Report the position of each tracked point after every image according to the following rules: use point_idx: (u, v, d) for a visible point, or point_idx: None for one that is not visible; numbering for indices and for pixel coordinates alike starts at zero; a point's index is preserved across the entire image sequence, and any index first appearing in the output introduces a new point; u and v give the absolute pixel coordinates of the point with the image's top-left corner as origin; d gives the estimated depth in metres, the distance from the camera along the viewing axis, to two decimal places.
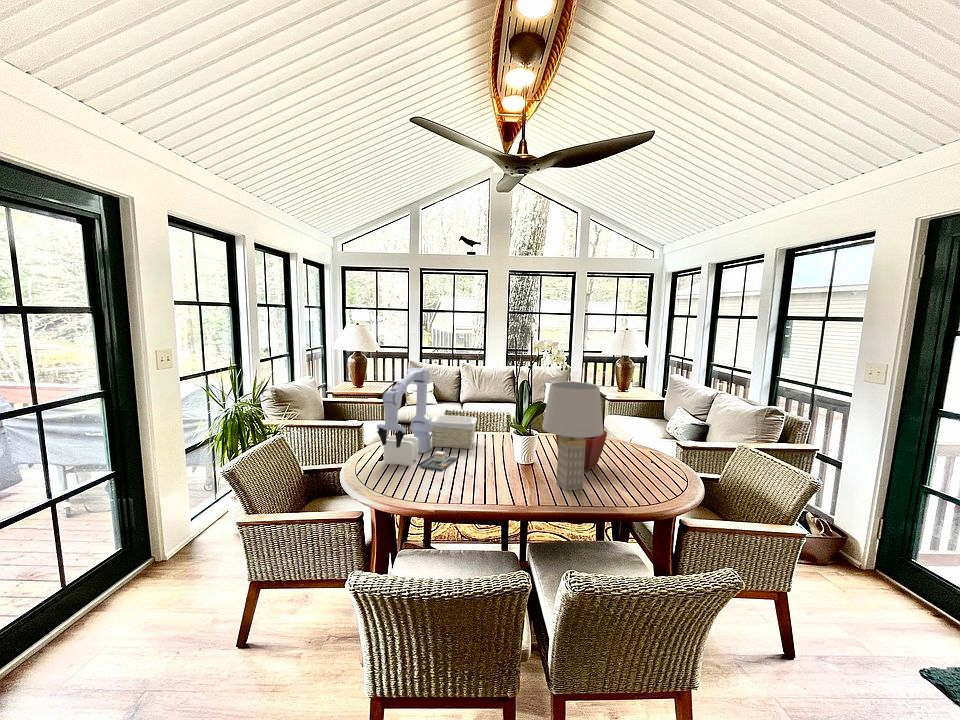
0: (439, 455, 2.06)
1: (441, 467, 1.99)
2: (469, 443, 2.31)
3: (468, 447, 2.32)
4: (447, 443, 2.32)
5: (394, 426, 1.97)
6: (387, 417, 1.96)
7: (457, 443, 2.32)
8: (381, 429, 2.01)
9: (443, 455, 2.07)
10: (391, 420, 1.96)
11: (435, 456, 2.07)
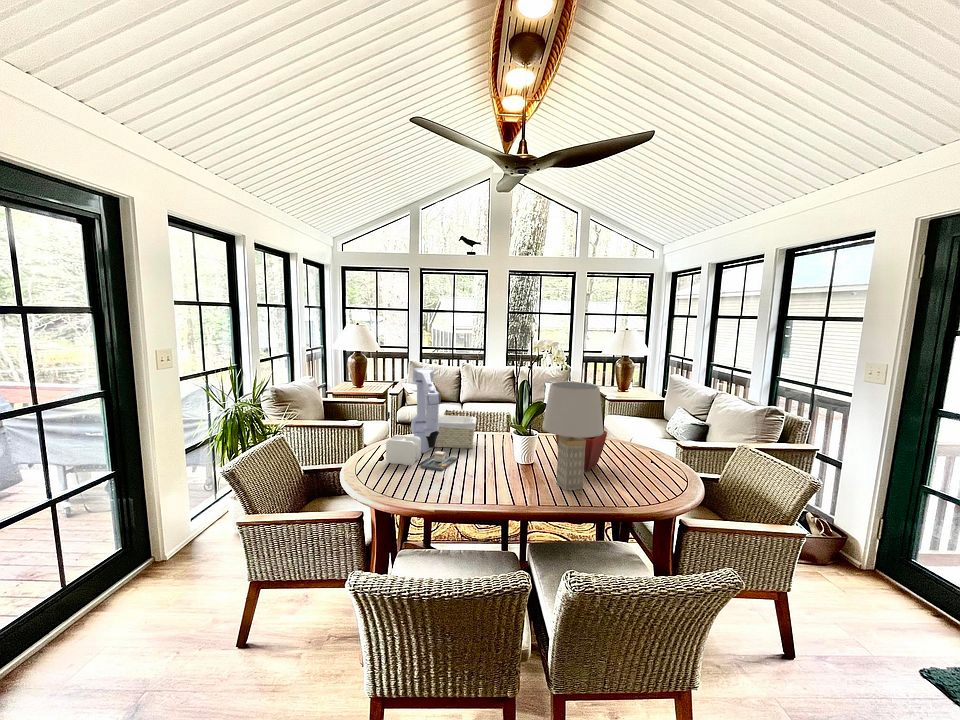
0: (439, 455, 2.06)
1: (441, 467, 1.99)
2: (470, 443, 2.32)
3: (469, 447, 2.32)
4: (448, 443, 2.32)
5: (427, 427, 1.97)
6: (432, 419, 1.96)
7: (458, 443, 2.32)
8: None
9: (443, 455, 2.07)
10: (426, 420, 1.98)
11: (435, 456, 2.07)
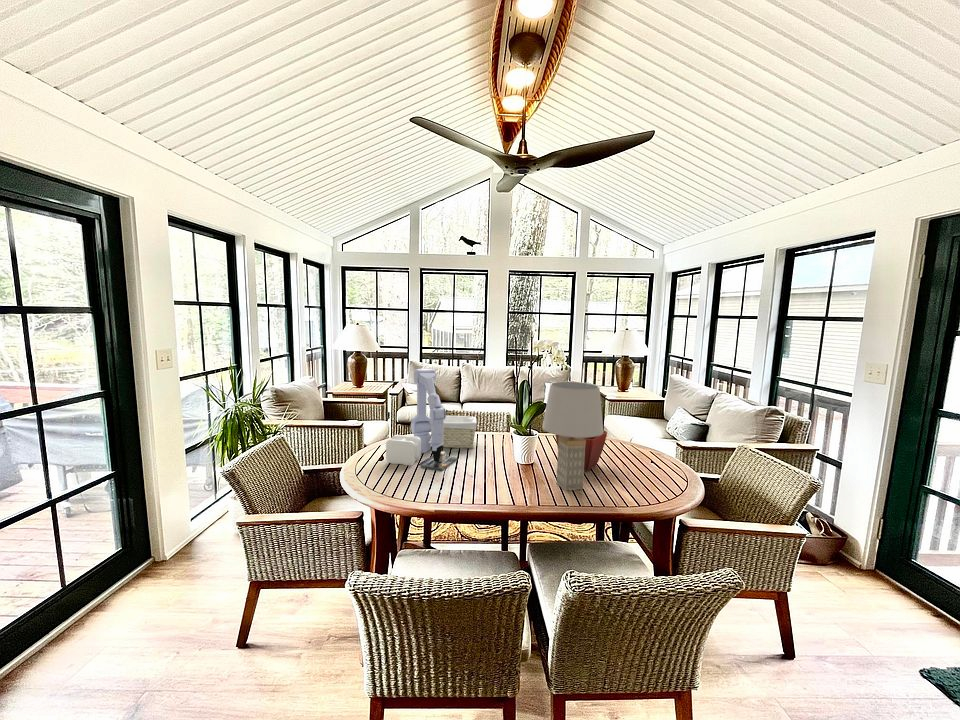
0: None
1: (441, 467, 1.99)
2: (471, 442, 2.33)
3: (470, 446, 2.33)
4: (449, 443, 2.32)
5: (433, 442, 2.02)
6: (438, 433, 2.01)
7: (460, 443, 2.32)
8: None
9: (443, 455, 2.07)
10: (431, 435, 2.02)
11: None
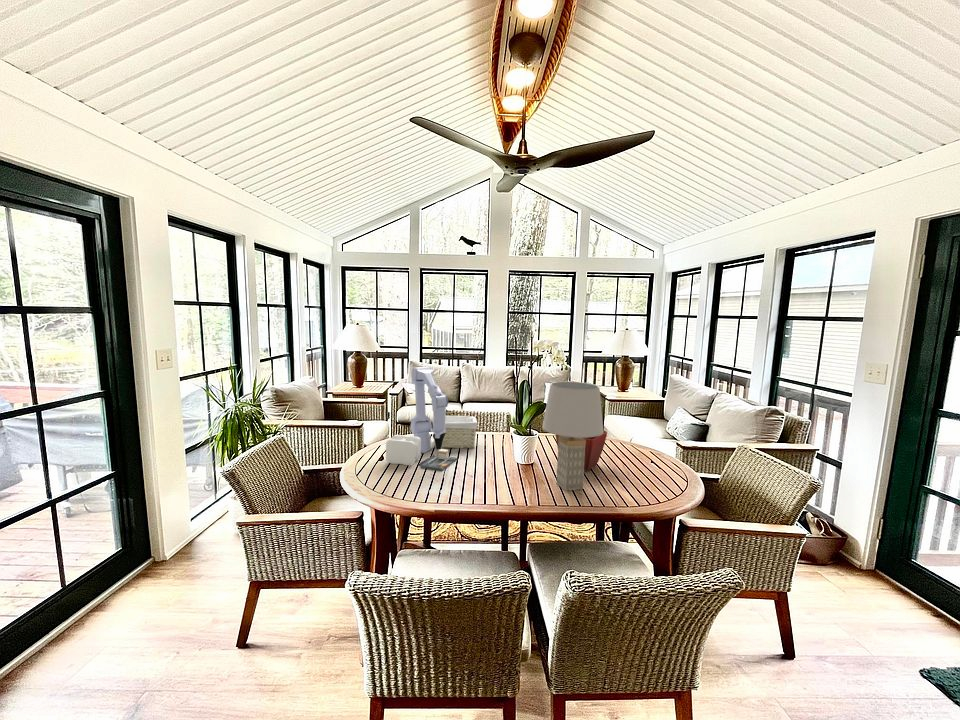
0: (443, 453, 2.09)
1: (441, 467, 1.99)
2: (473, 442, 2.33)
3: (471, 446, 2.33)
4: (451, 443, 2.31)
5: (435, 430, 2.03)
6: (441, 421, 2.02)
7: (461, 443, 2.32)
8: None
9: (447, 453, 2.10)
10: (433, 423, 2.03)
11: (439, 454, 2.10)
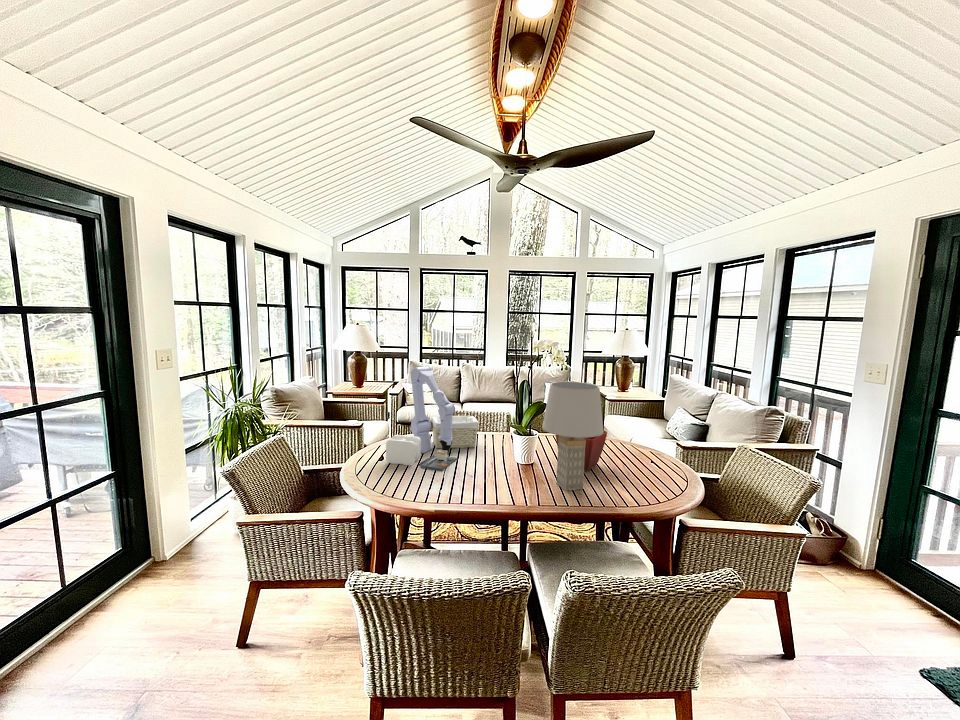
0: (442, 453, 2.08)
1: (441, 467, 1.99)
2: (474, 441, 2.34)
3: (473, 445, 2.34)
4: (452, 444, 2.31)
5: (444, 437, 2.10)
6: (449, 428, 2.10)
7: (462, 443, 2.33)
8: None
9: (446, 453, 2.09)
10: (442, 431, 2.10)
11: (438, 454, 2.09)
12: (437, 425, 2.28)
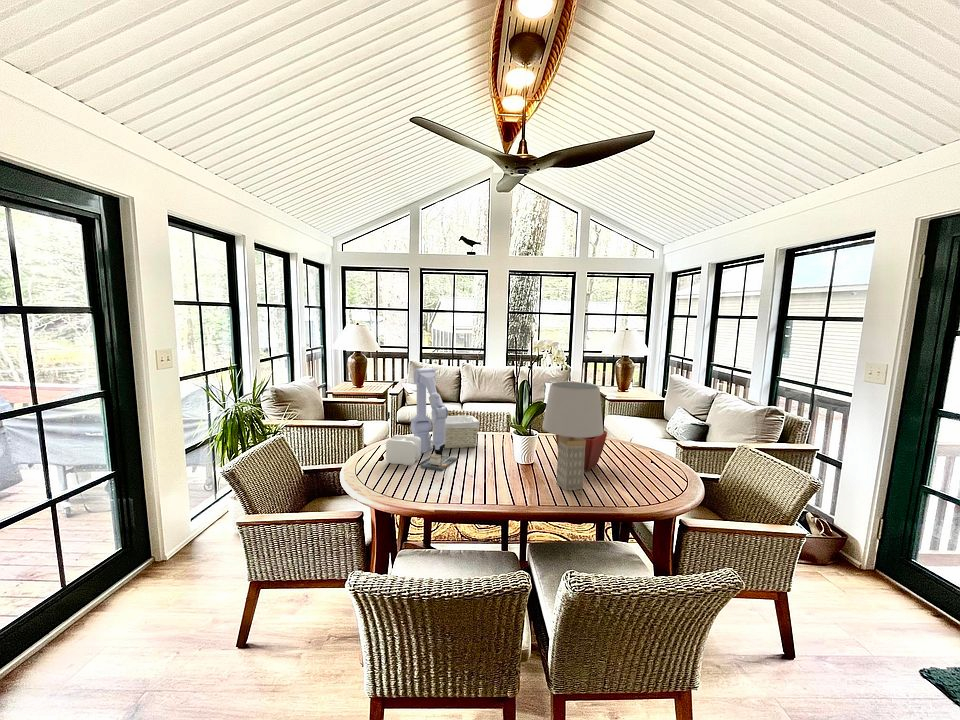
0: (435, 458, 2.02)
1: (441, 467, 1.99)
2: (475, 441, 2.35)
3: (474, 445, 2.35)
4: (453, 444, 2.31)
5: (435, 441, 2.03)
6: (441, 432, 2.03)
7: (463, 442, 2.33)
8: None
9: (439, 458, 2.03)
10: (433, 434, 2.04)
11: (431, 459, 2.03)
12: None
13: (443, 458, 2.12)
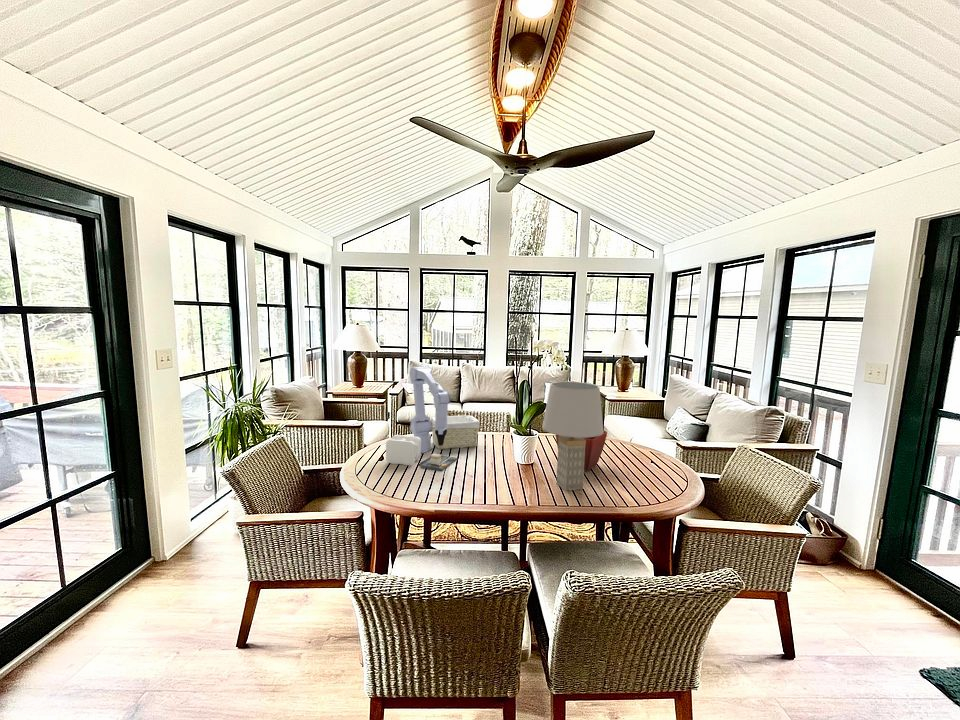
0: (435, 458, 2.02)
1: (441, 467, 1.99)
2: (475, 441, 2.35)
3: (474, 445, 2.36)
4: (454, 444, 2.31)
5: (438, 426, 2.04)
6: (443, 417, 2.04)
7: (464, 442, 2.33)
8: None
9: (439, 458, 2.03)
10: (436, 419, 2.05)
11: (431, 459, 2.03)
12: None
13: (443, 458, 2.12)
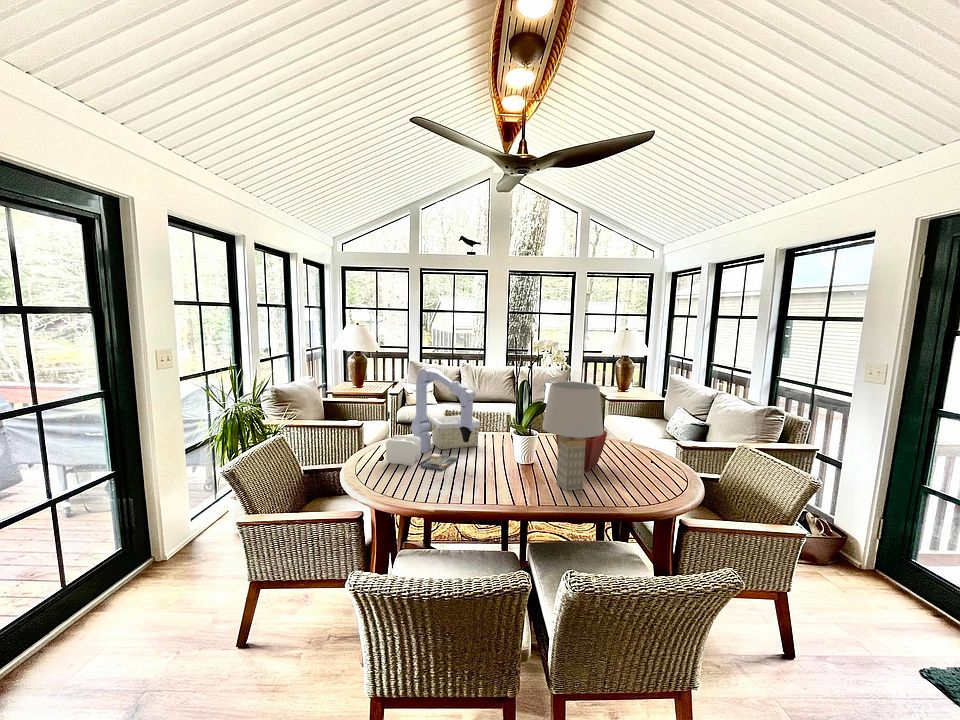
0: (435, 458, 2.02)
1: (441, 467, 1.99)
2: (476, 440, 2.36)
3: (475, 444, 2.37)
4: (456, 444, 2.31)
5: (466, 423, 2.07)
6: (471, 414, 2.07)
7: (465, 442, 2.34)
8: None
9: (439, 458, 2.03)
10: (463, 417, 2.07)
11: (431, 459, 2.03)
12: (441, 426, 2.26)
13: (443, 458, 2.12)
